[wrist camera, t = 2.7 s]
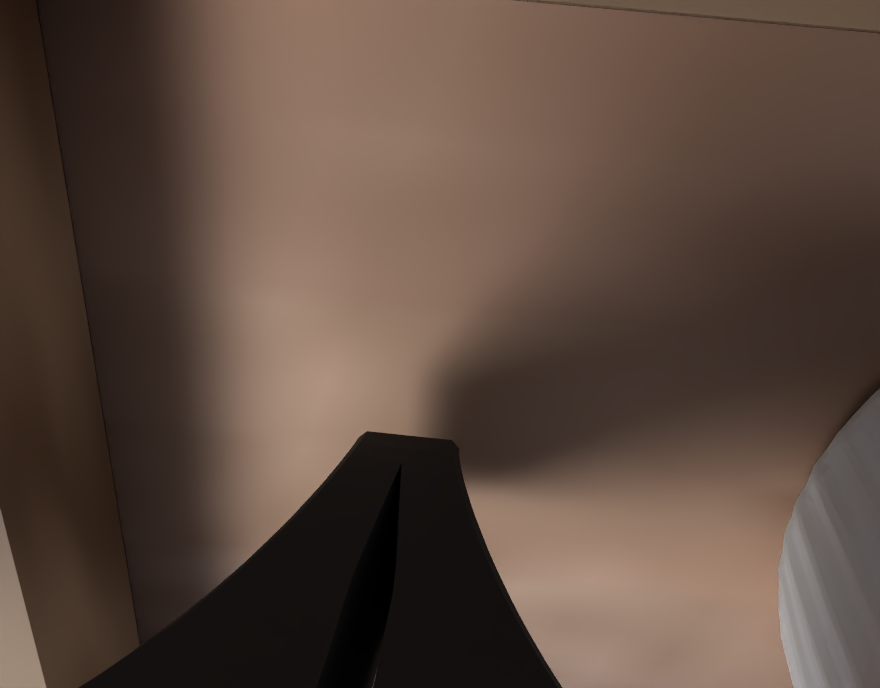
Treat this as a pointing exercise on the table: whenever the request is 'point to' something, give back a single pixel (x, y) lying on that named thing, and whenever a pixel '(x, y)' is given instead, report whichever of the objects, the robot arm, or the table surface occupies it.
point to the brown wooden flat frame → (75, 383)
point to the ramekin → (835, 563)
